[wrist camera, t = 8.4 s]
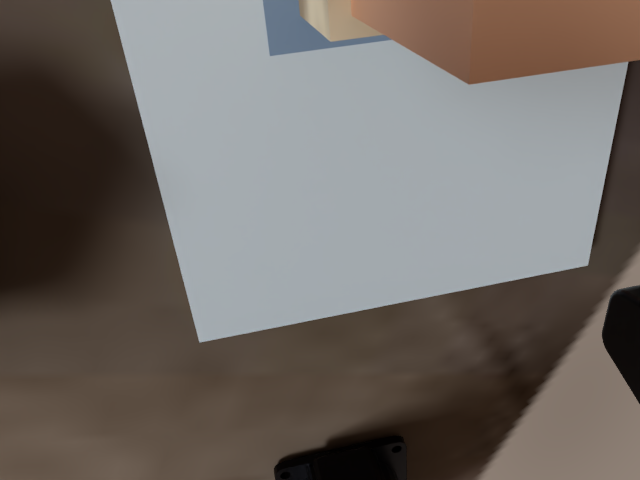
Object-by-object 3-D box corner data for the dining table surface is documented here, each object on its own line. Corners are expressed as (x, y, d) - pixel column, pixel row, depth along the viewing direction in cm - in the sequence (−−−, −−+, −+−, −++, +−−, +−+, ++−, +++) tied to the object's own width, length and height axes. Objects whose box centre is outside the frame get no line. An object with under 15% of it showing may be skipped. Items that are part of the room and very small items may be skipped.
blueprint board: (573, 253, 24) (588, 265, 23) (199, 326, 22) (199, 342, 21) (678, -327, 14) (709, -342, 14) (40, -297, 12) (29, -313, 11)
